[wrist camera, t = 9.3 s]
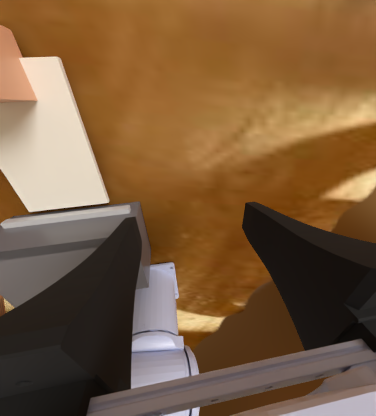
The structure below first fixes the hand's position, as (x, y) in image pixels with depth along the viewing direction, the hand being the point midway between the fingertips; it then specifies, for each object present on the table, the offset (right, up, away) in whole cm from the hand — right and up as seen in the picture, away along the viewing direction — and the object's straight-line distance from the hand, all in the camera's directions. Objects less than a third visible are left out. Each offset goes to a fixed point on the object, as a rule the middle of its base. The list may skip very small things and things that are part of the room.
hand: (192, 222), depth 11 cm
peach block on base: (-13, +7, +4) cm, 16 cm away
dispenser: (-13, -3, +11) cm, 17 cm away
